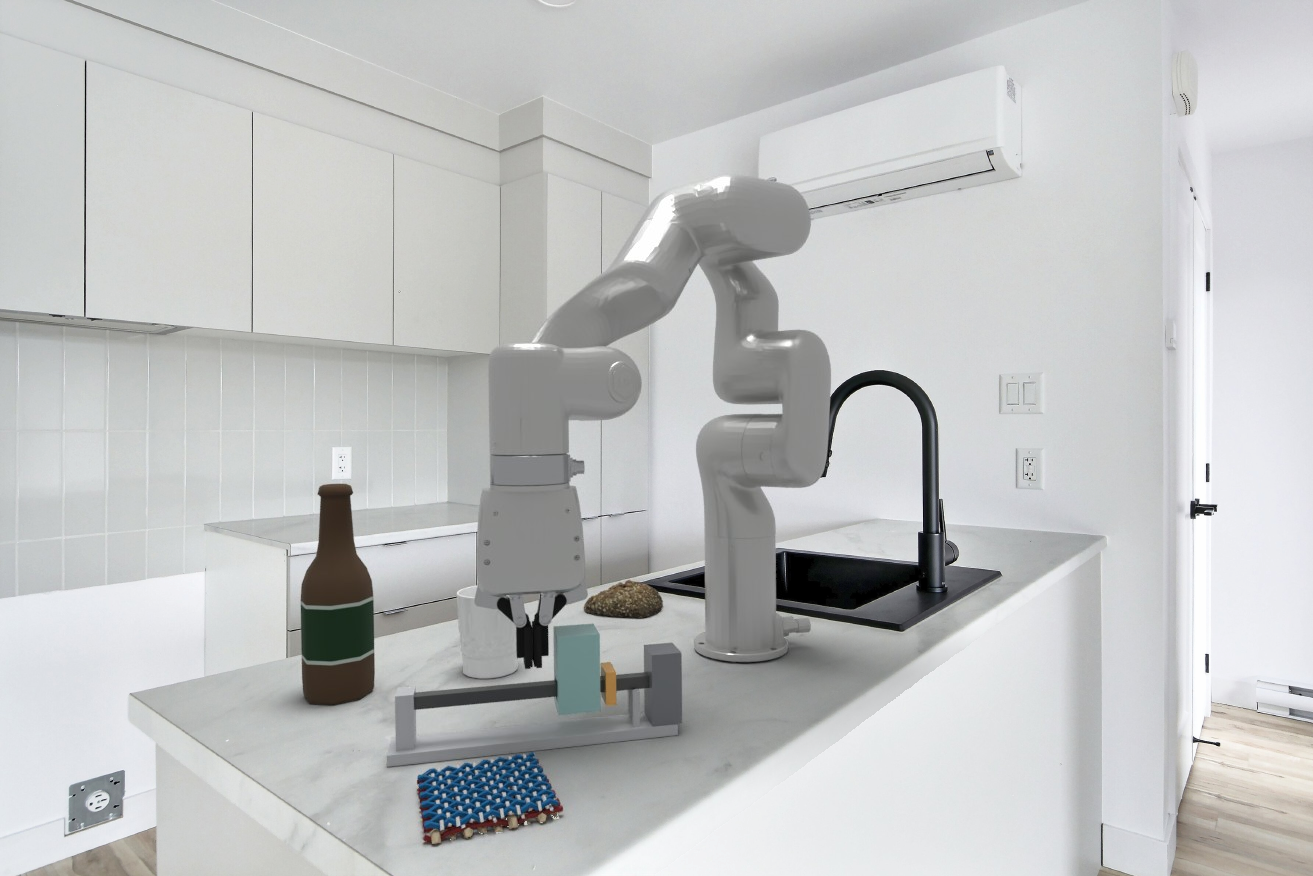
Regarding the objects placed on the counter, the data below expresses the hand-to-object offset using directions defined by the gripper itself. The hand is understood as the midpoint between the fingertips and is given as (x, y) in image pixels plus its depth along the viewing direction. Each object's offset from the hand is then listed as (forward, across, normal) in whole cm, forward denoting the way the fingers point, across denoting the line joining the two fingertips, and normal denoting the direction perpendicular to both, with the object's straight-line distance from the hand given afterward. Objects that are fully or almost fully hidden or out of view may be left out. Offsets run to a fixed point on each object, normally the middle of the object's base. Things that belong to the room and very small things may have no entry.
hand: (532, 663), depth 72 cm
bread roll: (+8, -19, -50) cm, 54 cm away
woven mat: (+8, +4, +11) cm, 14 cm away
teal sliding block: (+5, -4, 0) cm, 6 cm away
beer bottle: (+8, +21, -19) cm, 29 cm away
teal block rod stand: (+8, 0, 0) cm, 8 cm away
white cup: (+8, +4, -23) cm, 25 cm away
